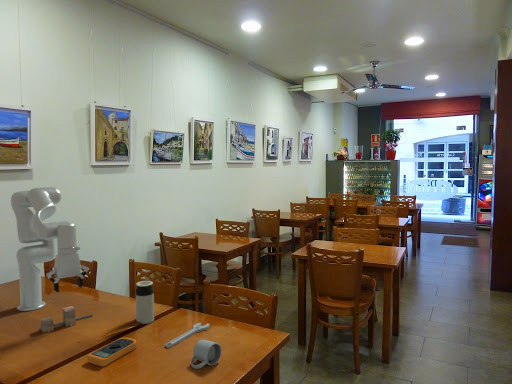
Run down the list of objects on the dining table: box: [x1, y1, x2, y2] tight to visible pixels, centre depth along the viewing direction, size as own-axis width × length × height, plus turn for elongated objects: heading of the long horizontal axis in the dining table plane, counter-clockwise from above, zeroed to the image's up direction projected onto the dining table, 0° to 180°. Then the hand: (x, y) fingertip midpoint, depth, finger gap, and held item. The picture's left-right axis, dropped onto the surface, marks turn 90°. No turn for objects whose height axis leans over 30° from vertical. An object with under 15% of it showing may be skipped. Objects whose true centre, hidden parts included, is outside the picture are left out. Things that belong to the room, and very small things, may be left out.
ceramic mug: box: [190, 339, 222, 370], centre depth 139 cm, size 11×8×8 cm
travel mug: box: [135, 280, 155, 325], centre depth 178 cm, size 8×8×18 cm
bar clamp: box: [39, 314, 93, 334], centre depth 172 cm, size 6×22×5 cm, turn 133°
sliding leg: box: [62, 305, 77, 328], centre depth 172 cm, size 5×4×7 cm
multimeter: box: [87, 336, 137, 368], centre depth 146 cm, size 9×18×3 cm, turn 154°
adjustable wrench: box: [165, 322, 210, 349], centre depth 163 cm, size 25×6×2 cm, turn 145°
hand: (68, 289), depth 171 cm, fingers open, 9 cm apart
